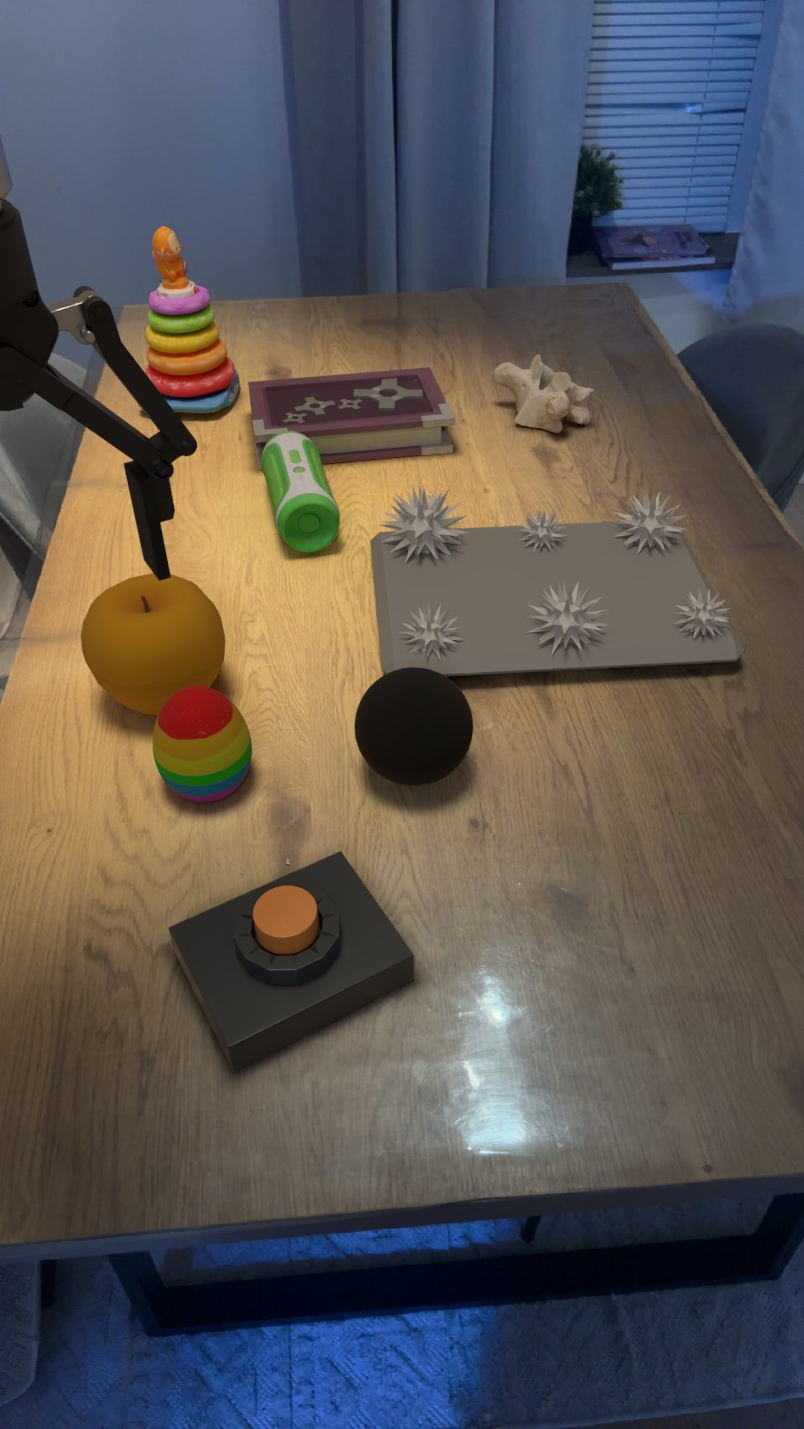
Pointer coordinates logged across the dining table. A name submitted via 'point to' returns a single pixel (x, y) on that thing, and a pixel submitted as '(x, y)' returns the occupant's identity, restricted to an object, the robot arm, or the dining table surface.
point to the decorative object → (544, 395)
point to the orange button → (286, 920)
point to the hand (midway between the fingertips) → (45, 603)
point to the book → (355, 414)
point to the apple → (152, 640)
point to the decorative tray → (543, 594)
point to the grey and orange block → (291, 963)
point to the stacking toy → (185, 338)
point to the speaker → (299, 492)
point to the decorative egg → (201, 744)
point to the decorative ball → (413, 726)
